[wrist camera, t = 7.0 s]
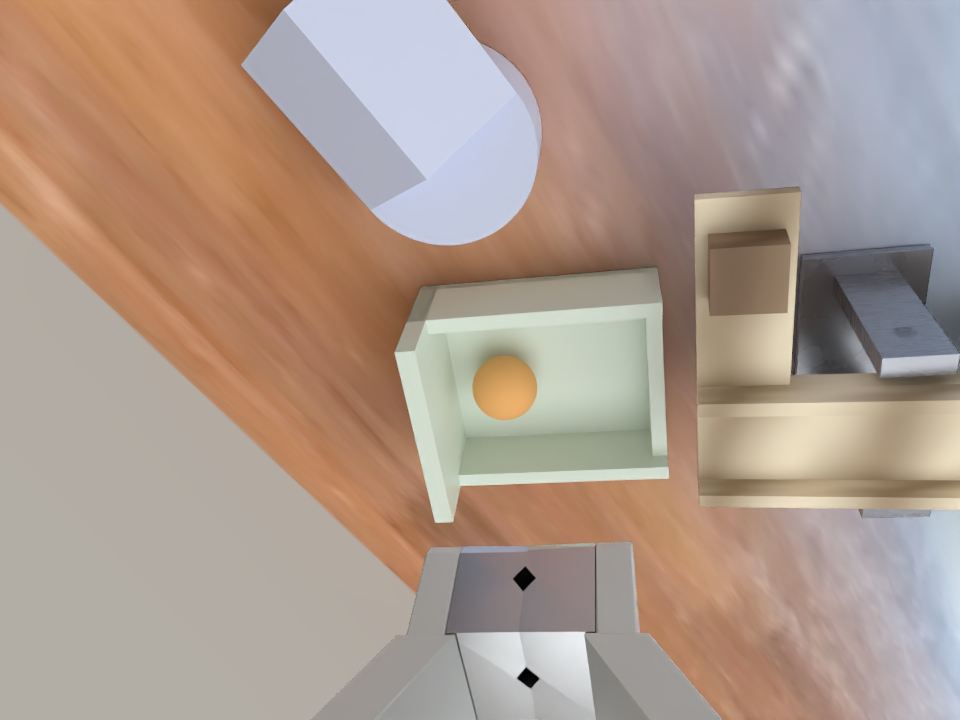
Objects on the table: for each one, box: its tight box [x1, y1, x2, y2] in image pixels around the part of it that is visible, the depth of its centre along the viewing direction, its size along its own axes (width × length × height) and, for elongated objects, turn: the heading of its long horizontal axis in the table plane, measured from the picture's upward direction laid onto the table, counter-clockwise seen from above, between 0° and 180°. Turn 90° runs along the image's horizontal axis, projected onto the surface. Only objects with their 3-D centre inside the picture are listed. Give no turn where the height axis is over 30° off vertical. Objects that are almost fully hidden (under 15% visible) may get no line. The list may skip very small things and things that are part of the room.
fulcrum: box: [794, 244, 960, 518], centre depth 39 cm, size 12×11×9 cm
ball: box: [472, 355, 537, 420], centre depth 44 cm, size 4×4×4 cm
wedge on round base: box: [241, 0, 542, 245], centre depth 36 cm, size 9×7×13 cm
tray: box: [394, 267, 669, 523], centre depth 43 cm, size 13×11×7 cm
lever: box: [694, 187, 960, 510], centre depth 34 cm, size 18×15×6 cm
